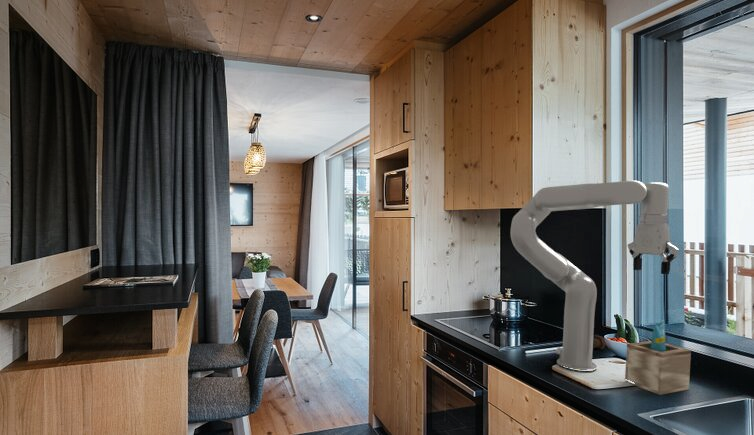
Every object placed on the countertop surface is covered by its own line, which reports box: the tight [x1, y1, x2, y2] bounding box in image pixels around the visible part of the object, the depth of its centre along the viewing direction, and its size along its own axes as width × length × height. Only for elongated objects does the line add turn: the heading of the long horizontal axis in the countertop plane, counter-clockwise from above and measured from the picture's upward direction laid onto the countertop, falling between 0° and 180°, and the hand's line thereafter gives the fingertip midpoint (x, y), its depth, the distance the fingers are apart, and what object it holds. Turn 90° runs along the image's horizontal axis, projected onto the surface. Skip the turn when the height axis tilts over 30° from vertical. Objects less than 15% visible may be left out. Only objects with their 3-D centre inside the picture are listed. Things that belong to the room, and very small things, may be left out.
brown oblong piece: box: [593, 334, 607, 350], centre depth 186 cm, size 6×5×15 cm
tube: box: [650, 319, 666, 352], centre depth 150 cm, size 7×5×19 cm, turn 137°
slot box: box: [624, 340, 692, 396], centre depth 150 cm, size 12×14×12 cm
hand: (650, 271), depth 159 cm, fingers open, 9 cm apart
